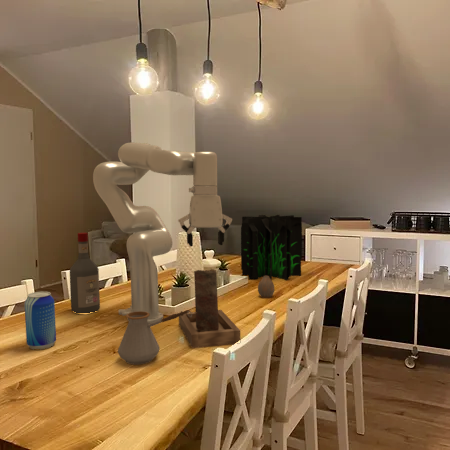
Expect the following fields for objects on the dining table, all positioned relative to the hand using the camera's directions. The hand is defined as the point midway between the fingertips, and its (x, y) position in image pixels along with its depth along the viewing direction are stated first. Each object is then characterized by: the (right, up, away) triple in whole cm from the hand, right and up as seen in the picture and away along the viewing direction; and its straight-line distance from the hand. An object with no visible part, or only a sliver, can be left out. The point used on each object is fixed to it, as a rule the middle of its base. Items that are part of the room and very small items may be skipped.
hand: (205, 245), depth 155 cm
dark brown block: (0, -28, +3) cm, 28 cm away
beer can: (-50, -30, -7) cm, 59 cm away
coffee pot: (-13, -31, -20) cm, 40 cm away
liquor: (-47, -27, +31) cm, 62 cm away
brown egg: (+23, -24, +50) cm, 60 cm away
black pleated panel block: (+30, -20, +93) cm, 100 cm away
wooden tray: (+1, -29, +3) cm, 29 cm away
